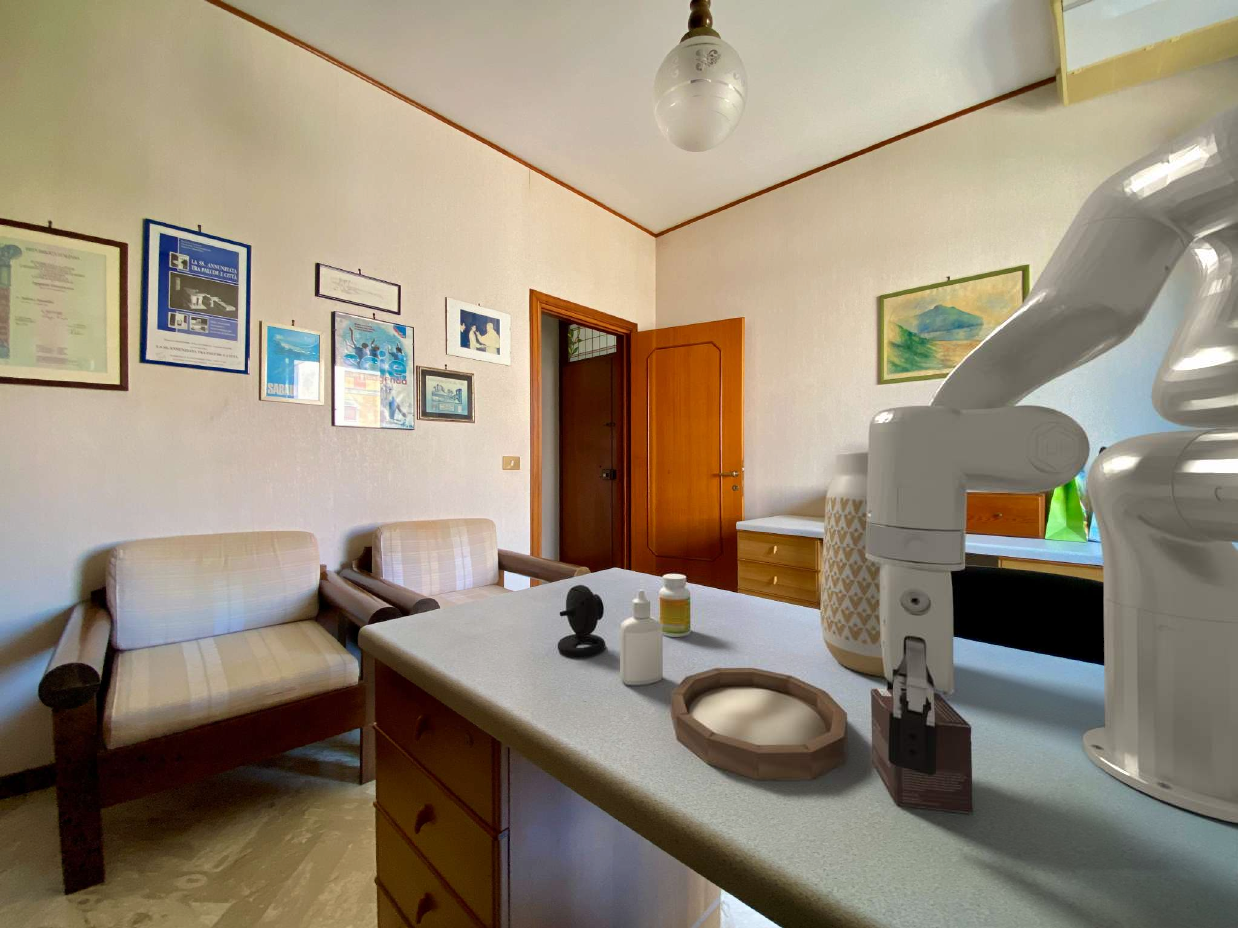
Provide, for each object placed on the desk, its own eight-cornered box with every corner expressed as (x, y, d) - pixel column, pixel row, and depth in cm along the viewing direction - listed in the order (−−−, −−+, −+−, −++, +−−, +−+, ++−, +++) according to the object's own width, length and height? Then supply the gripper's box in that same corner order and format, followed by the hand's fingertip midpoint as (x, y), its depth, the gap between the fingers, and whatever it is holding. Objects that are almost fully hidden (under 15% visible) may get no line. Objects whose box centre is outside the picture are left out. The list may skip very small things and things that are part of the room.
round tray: (850, 708, 55) (850, 687, 55) (838, 805, 39) (838, 775, 39) (703, 676, 64) (703, 657, 64) (646, 744, 48) (645, 719, 48)
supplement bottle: (692, 638, 78) (692, 579, 78) (660, 637, 78) (660, 579, 78) (688, 627, 84) (688, 572, 84) (658, 626, 84) (657, 572, 84)
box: (975, 817, 38) (974, 727, 38) (893, 807, 39) (893, 719, 39) (939, 770, 44) (939, 691, 44) (870, 762, 45) (869, 686, 45)
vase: (908, 695, 58) (906, 449, 59) (803, 661, 69) (802, 452, 69) (941, 664, 67) (939, 451, 68) (844, 638, 78) (843, 454, 78)
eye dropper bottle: (660, 689, 60) (659, 595, 60) (617, 684, 61) (617, 593, 61) (664, 674, 64) (663, 587, 64) (624, 670, 66) (624, 585, 66)
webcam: (615, 651, 72) (614, 587, 73) (572, 663, 68) (572, 594, 68) (589, 636, 79) (589, 577, 79) (549, 646, 75) (549, 583, 75)
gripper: (984, 567, 32) (978, 816, 32) (951, 539, 47) (947, 708, 47) (862, 554, 36) (856, 777, 36) (867, 532, 51) (863, 688, 51)
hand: (908, 737), depth 42 cm, fingers open, 9 cm apart
